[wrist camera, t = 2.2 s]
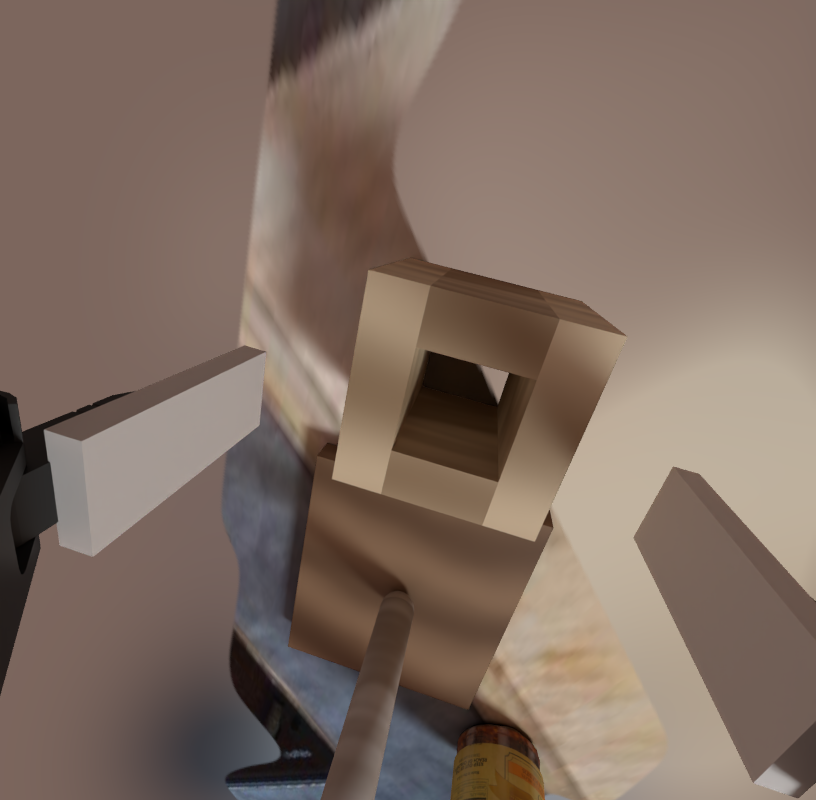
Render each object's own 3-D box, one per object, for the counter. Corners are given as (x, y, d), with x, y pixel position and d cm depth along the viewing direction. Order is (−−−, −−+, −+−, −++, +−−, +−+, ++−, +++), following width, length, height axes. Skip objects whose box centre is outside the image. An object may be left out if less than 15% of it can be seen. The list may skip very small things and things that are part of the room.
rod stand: (327, 443, 24) (148, 665, 12) (549, 510, 23) (615, 837, 10) (297, 627, 30) (162, 896, 18) (469, 687, 29) (450, 1019, 17)
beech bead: (410, 257, 19) (368, 269, 13) (581, 301, 18) (627, 336, 12) (378, 409, 22) (332, 478, 16) (523, 451, 22) (534, 541, 15)
